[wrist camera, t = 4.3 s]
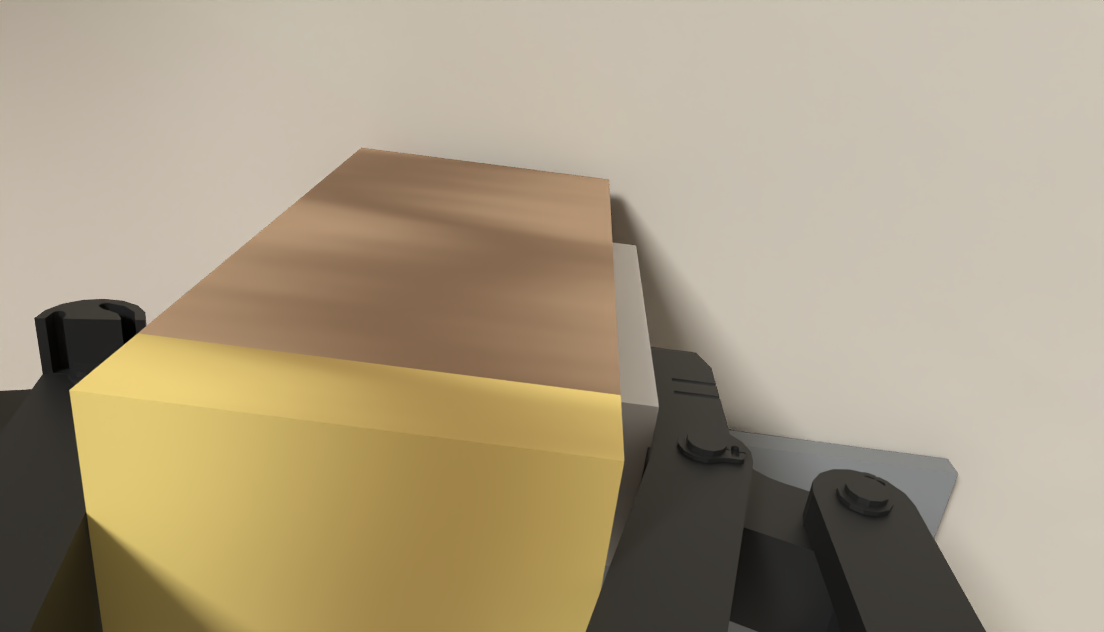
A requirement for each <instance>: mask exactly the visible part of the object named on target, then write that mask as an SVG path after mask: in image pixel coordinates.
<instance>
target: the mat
mask: <svg viewBox="0 0 1104 632" xmlns="http://www.w3.org/2000/svg"><path fill="white" fill-rule="evenodd" d="M729 433H730V435H732V436H734V437H735V438H737V439H738V440H740V441H742V442H743V443H744V445H745V446H746V447H747V448H748V449H749V450H750V452H751V454H752V459H753V469H754V470H756V471H758V472H759V473H761V474H763V475H765V476H767V477H769V478H772V479H774V480H777V481H779V482H782V483H785V484H788V485H791V486H794V487H797V488H801V489H804V490H807V491H810V488H811V485H812V482H813V480H814V479H815V478H816V477H817V476H818V474H819V473H822V472H825V471H828V470H832V469H850V470H855V471H859V472H866V473H870V474H873V475H875V476H876V477H880V478H882V479H884V480H886V481H888V482H889V483H891V484H892V485H894V486H895V487H896V488H898V489H899V490H901V491H902V492H904V493H905V494H906V495H907V496H908V498H909V499H910V500H911V501H912V502H913V503H914V505H915V506H916V508H917V509H918V511H919V513H920V515H921V517H922V518H923V520H924V522H925V524H926V526H927V527H928V529H929V531H930V533H931V534H932V536H933V538H934V536H935V534H936V531H937V528H938V526H939V523H940V520H941V518H942V515H943V513H944V510H945V507H946V505H947V502H948V499H949V497H950V494H951V491H952V489H953V486H954V484H955V481H956V478H957V476H958V473H957V471H956V470H955V468H954V467H953V465H952V464H951V463H950V461H949V460H948V459H944V458H936V457H929V456H921V455H914V454H906V453H899V452H891V451H883V450H876V449H868V448H861V447H853V446H846V445H838V444H830V443H823V442H815V441H808V440H800V439H792V438H785V437H777V436H770V435H762V434H755V433H747V432H739V431H732V430H729ZM609 567H610V566H605V570H604V575H603V581H602V586H603V583H604V580H605V578H606V575H607V572H608V570H609ZM602 586H601V589H602ZM728 632H757V631H755V630H752V629H749V628H747V627H744V626H741V625H739V624H736V623H733V622H731V621H729V627H728Z"/></svg>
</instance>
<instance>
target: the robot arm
mask: <svg viewBox="0 0 1104 632" xmlns="http://www.w3.org/2000/svg"><path fill="white" fill-rule="evenodd" d="M613 262H614V280H615V298H616V317H617V335H618V353H619V372H620V390H621V408H622V427H623V445H624V466H623V471H622V477H621V482H620V488H619V493H618V499H617V504H616V510H615V515H614V520H613V526H612V531H611V537H610V542H609V548H608V553H607V559H606V564H605V566H610V567H609V570H608V572H607V575H606V578H605V580H604V583H603V586H602V589H601V591H600V594H599V597H598V599H597V602H596V605H595V607H594V610H593V613H592V616H591V618H590V621H589V624H588V626H587V629H586V632H728V627H729V621H731V622H733V623H736V624H739V625H741V626H744V627H747V628H749V629H752V630H755V631H757V632H986V631H985V629H984V627H983V626H982V624H981V622H980V620H979V619H978V617H977V615H976V613H975V611H974V610H973V608H972V606H971V604H970V602H969V601H968V599H967V597H966V595H965V593H964V592H963V590H962V588H961V586H960V585H959V583H958V581H957V579H956V577H955V576H954V574H953V572H952V570H951V568H950V567H949V565H948V563H947V561H946V560H945V558H944V556H943V554H942V552H941V551H940V549H939V547H938V545H937V543H936V542H935V540H934V538H933V536H932V534H931V533H930V531H929V529H928V527H927V526H926V524H925V522H924V520H923V518H922V517H921V515H920V513H919V511H918V509H917V508H916V506H915V505H914V503H913V502H912V501H911V500H910V499H909V498H908V496H907V495H906V494H905V493H904V492H902V491H901V490H899V489H898V488H896V487H895V486H894V485H892V484H891V483H889V482H888V481H886V480H884V479H882V478H880V477H876V476H875V475H873V474H870V473H866V472H859V471H855V470H850V469H832V470H828V471H825V472H822V473H819V474H818V476H817V477H816V478H815V479H814V480H813V482H812V485H811V488H810V491H807V490H804V489H801V488H797V487H794V486H791V485H788V484H785V483H782V482H779V481H777V480H774V479H772V478H769V477H767V476H765V475H763V474H761V473H759V472H758V471H756V470H754V469H753V459H752V454H751V452H750V450H749V449H748V448H747V447H746V446H745V445H744V443H743V442H742V441H740V440H738V439H737V438H735V437H734V436H732V435H730V433H729V430H728V426H727V422H726V419H725V415H724V412H723V408H722V405H721V401H720V399H719V394H718V390H717V387H716V386H715V384H716V383H715V380H714V376H713V373H712V369H711V367H710V366H709V365H708V364H707V363H706V362H705V361H704V360H703V359H701V358H700V357H699V356H698V355H697V354H696V353H693V352H685V351H677V350H670V349H662V348H654V347H650V340H649V333H648V326H647V319H646V312H645V305H644V298H643V291H642V284H641V277H640V270H639V263H638V255H637V248H636V245H628V244H620V243H613ZM34 319H35V325H36V332H37V338H38V345H39V352H40V358H41V365H42V371H43V375H42V376H41V377H40V379H39V380H38V382H37V383H36V384H35V386H34V387H33V389H29V390H11V391H0V632H103V628H102V621H101V614H100V607H99V599H98V592H97V585H96V578H95V571H94V563H93V556H92V549H91V542H90V535H89V528H88V520H87V513H86V506H85V499H84V492H83V484H82V477H81V470H80V463H79V456H78V448H77V441H76V434H75V427H74V420H73V413H72V405H71V398H70V391H69V390H70V389H71V388H72V387H74V386H75V385H76V384H77V383H79V382H80V381H81V380H82V379H83V378H85V377H86V376H87V375H88V374H89V373H91V372H92V371H93V370H94V369H95V368H97V367H98V366H99V365H100V364H101V363H103V362H104V361H105V360H106V359H107V358H109V357H110V356H111V355H112V354H113V353H115V352H116V351H117V350H118V349H120V348H121V347H122V346H123V345H124V344H126V343H127V342H128V341H129V340H130V339H132V338H133V337H134V336H135V335H136V334H138V333H139V332H140V331H141V330H142V329H144V328H145V327H146V316H145V312H144V311H143V310H142V309H141V308H140V307H139V306H137V305H134V304H131V303H128V302H125V301H119V300H109V299H94V300H80V301H75V302H70V303H65V304H61V305H58V306H55V307H53V308H50V309H47V310H45V311H44V312H42V313H41V314H39V315H38V316H37V317H35V318H34Z"/></svg>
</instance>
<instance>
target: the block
mask: <svg viewBox="0 0 1104 632" xmlns="http://www.w3.org/2000/svg"><path fill="white" fill-rule="evenodd" d="M69 391H70V398H71V405H72V413H73V420H74V427H75V434H76V441H77V448H78V456H79V463H80V470H81V477H82V484H83V492H84V499H85V506H86V513H87V520H88V528H89V535H90V542H91V549H92V556H93V563H94V571H95V578H96V585H97V592H98V599H99V607H100V614H101V621H102V628H103V632H586V629H587V626H588V624H589V621H590V618H591V616H592V613H593V610H594V607H595V605H596V602H597V599H598V597H599V594H600V591H601V586H602V581H603V575H604V570H605V564H606V559H607V553H608V548H609V542H610V537H611V531H612V526H613V520H614V515H615V510H616V504H617V499H618V493H619V488H620V482H621V477H622V471H623V466H624V445H623V427H622V408H621V390H620V372H619V353H618V335H617V317H616V298H615V280H614V262H613V243H612V225H611V207H610V188H609V180H608V179H600V178H592V177H585V176H577V175H569V174H561V173H554V172H546V171H538V170H530V169H522V168H515V167H507V166H499V165H491V164H484V163H476V162H468V161H460V160H452V159H445V158H437V157H429V156H421V155H414V154H406V153H398V152H390V151H382V150H375V149H367V148H361V149H359V150H358V151H357V152H356V153H355V154H353V155H352V156H351V157H350V158H349V159H347V160H346V161H345V162H344V163H343V164H341V165H340V166H339V167H338V168H337V169H335V170H334V171H333V172H332V173H331V174H329V175H328V176H327V177H326V178H325V179H323V180H322V181H321V182H320V183H318V184H317V185H316V186H315V187H314V188H312V189H311V190H310V191H309V192H308V193H306V194H305V195H304V196H303V197H302V198H300V199H299V200H298V201H297V202H296V203H294V204H293V205H292V206H291V207H290V208H288V209H287V210H286V211H285V212H284V213H282V214H281V215H280V216H279V217H277V218H276V219H275V220H274V221H273V222H271V223H270V224H269V225H268V226H267V227H265V228H264V229H263V230H262V231H261V232H259V233H258V234H257V235H256V236H255V237H253V238H252V239H251V240H250V241H249V242H247V243H246V244H245V245H244V246H243V247H241V248H240V249H239V250H238V251H236V252H235V253H234V254H233V255H232V256H230V257H229V258H228V259H227V260H226V261H224V262H223V263H222V264H221V265H220V266H218V267H217V268H216V269H215V270H214V271H212V272H211V273H210V274H209V275H208V276H206V277H205V278H204V279H203V280H202V281H200V282H199V283H198V284H197V285H195V286H194V287H193V288H192V289H191V290H189V291H188V292H187V293H186V294H185V295H183V296H182V297H181V298H180V299H179V300H177V301H176V302H175V303H174V304H173V305H171V306H170V307H169V308H168V309H167V310H165V311H164V312H163V313H162V314H161V315H159V316H158V317H157V318H156V319H154V320H153V321H152V322H151V323H150V324H148V325H147V326H146V327H145V328H144V329H142V330H141V331H140V332H139V333H138V334H136V335H135V336H134V337H133V338H132V339H130V340H129V341H128V342H127V343H126V344H124V345H123V346H122V347H121V348H120V349H118V350H117V351H116V352H115V353H113V354H112V355H111V356H110V357H109V358H107V359H106V360H105V361H104V362H103V363H101V364H100V365H99V366H98V367H97V368H95V369H94V370H93V371H92V372H91V373H89V374H88V375H87V376H86V377H85V378H83V379H82V380H81V381H80V382H79V383H77V384H76V385H75V386H74V387H72V388H71V389H70V390H69Z"/></svg>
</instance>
